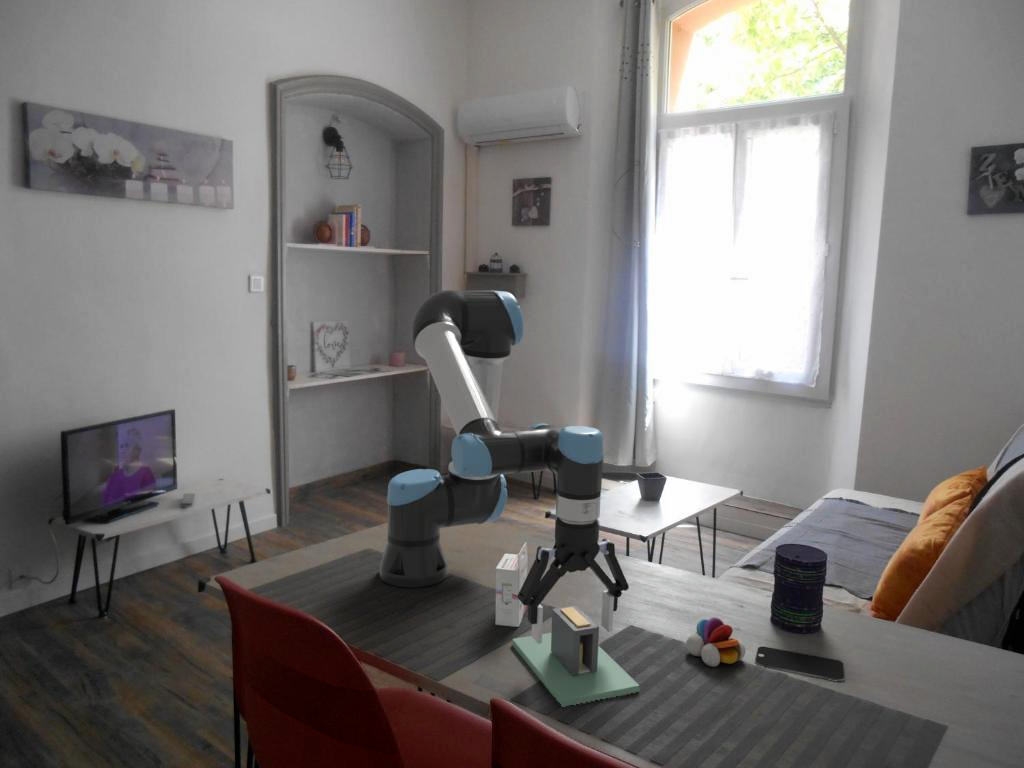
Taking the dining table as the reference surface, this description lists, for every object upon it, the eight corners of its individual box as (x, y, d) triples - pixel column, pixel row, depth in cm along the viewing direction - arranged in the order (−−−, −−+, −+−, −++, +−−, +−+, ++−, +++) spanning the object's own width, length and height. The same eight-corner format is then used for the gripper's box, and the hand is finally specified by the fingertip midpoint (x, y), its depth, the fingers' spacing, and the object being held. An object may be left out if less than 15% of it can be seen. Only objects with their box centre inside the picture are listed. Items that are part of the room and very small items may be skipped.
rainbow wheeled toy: (714, 675, 136) (717, 635, 135) (679, 650, 145) (681, 613, 144) (751, 664, 140) (754, 626, 139) (714, 641, 149) (716, 605, 147)
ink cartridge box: (503, 606, 161) (504, 538, 159) (526, 609, 160) (528, 540, 158) (493, 625, 153) (495, 553, 151) (518, 628, 152) (520, 555, 150)
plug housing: (550, 651, 140) (552, 607, 139) (574, 647, 142) (575, 603, 141) (572, 675, 132) (574, 629, 131) (597, 671, 134) (599, 625, 132)
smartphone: (757, 644, 147) (844, 660, 141) (757, 648, 147) (844, 664, 141) (754, 663, 140) (845, 681, 134) (753, 667, 140) (844, 685, 134)
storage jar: (778, 608, 163) (783, 540, 161) (827, 621, 158) (833, 550, 156) (762, 625, 155) (768, 553, 153) (814, 640, 150) (820, 565, 147)
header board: (512, 645, 145) (512, 616, 144) (580, 633, 150) (581, 605, 149) (562, 707, 125) (563, 674, 124) (639, 692, 130) (640, 660, 129)
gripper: (517, 532, 125) (513, 655, 129) (652, 517, 134) (645, 633, 138) (501, 517, 132) (497, 634, 136) (630, 504, 141) (624, 614, 145)
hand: (572, 634), depth 137 cm, fingers open, 13 cm apart
